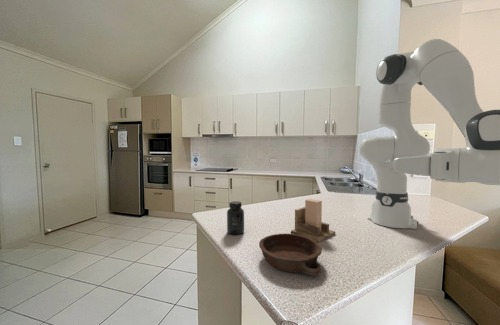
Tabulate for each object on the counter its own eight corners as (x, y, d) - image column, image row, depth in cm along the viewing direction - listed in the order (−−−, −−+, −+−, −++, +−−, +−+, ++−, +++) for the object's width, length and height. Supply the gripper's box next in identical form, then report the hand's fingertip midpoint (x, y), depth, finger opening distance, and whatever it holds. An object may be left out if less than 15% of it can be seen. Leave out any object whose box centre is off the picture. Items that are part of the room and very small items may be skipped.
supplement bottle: (247, 230, 85) (247, 201, 85) (239, 236, 79) (239, 205, 79) (232, 228, 88) (232, 199, 88) (223, 233, 82) (223, 203, 81)
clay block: (310, 228, 85) (310, 198, 85) (321, 231, 81) (321, 200, 81) (305, 230, 83) (305, 200, 82) (316, 233, 79) (316, 202, 79)
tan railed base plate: (308, 226, 90) (308, 205, 90) (335, 234, 81) (335, 211, 81) (291, 232, 83) (291, 210, 82) (318, 242, 74) (318, 217, 73)
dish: (285, 241, 75) (285, 227, 75) (341, 269, 57) (341, 251, 57) (244, 253, 66) (244, 237, 66) (295, 291, 47) (295, 270, 47)
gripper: (450, 153, 62) (395, 153, 73) (438, 152, 49) (373, 153, 59) (449, 174, 63) (395, 171, 73) (438, 179, 49) (373, 175, 60)
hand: (385, 163), depth 66 cm, fingers open, 8 cm apart
